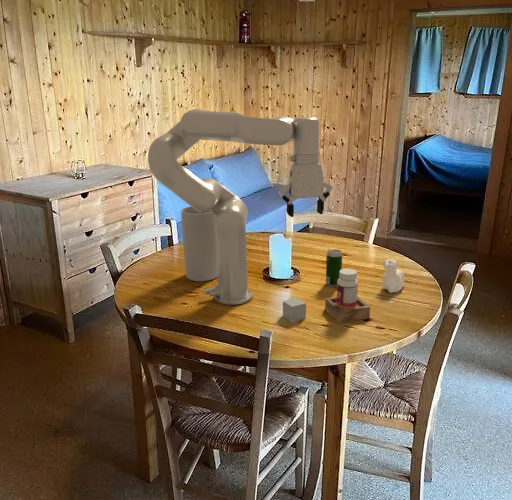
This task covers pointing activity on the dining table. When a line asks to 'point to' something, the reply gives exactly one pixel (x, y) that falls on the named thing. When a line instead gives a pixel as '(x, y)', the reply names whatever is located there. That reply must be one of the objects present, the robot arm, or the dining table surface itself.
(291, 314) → the grey cube
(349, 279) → the pill bottle
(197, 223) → the cylinder vase
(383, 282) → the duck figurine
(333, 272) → the beer can
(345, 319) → the brown square tray
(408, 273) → the dining table surface
